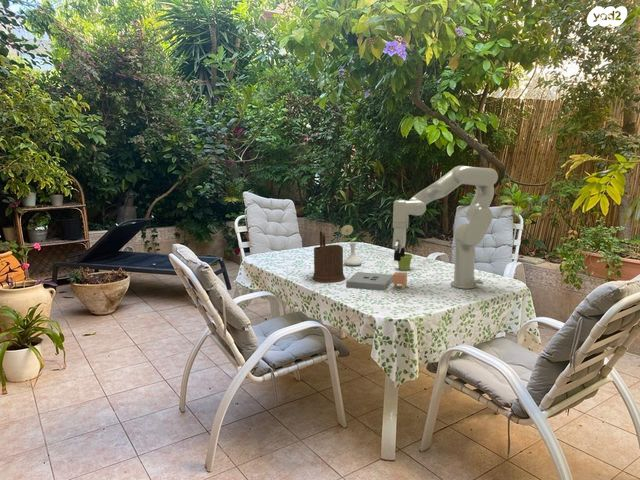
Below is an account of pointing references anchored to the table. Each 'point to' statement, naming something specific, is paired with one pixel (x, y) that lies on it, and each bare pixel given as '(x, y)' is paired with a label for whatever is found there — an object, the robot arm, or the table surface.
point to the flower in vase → (352, 258)
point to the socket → (370, 281)
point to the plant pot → (405, 262)
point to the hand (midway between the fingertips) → (399, 258)
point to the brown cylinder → (328, 262)
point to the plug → (400, 279)
